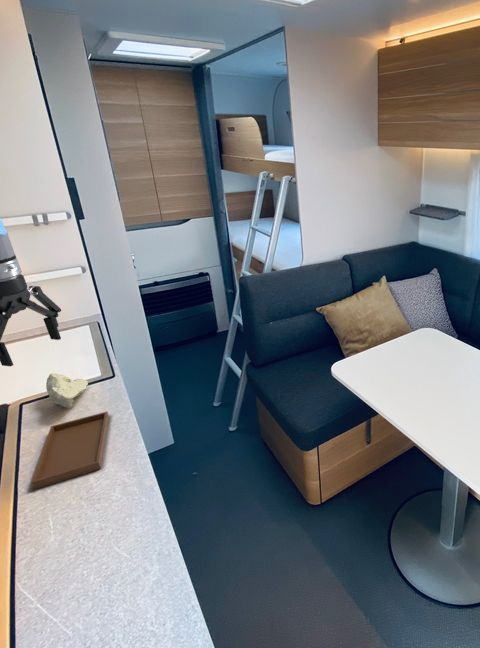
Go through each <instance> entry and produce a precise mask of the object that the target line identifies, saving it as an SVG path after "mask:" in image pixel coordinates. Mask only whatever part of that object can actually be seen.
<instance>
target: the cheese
mask: <svg viewBox="0 0 480 648" xmlns="http://www.w3.org/2000/svg"><path fill="white" fill-rule="evenodd" d="M45 384H46V386H45V387H46V391H47V393H48V394H47V395H48V396H49V401H50V402H51V403H52V404H55V405H56V404H57V405H60V406H62V407H63V408H67V409H71V408H72V406H73V403H74V402H75V401H74V399H75V398H76V397H78V396H80V395H82V394H83V393H84V392H85V391H86V390H87V387H88V385H89V382H88V380H86V379H84V378H79V377H78V378H75V379H71V378H69V376H67V375H64V374H61V373H60V374H59V373H57V372H51V373H49V375H48V377H47V378H46V383H45Z"/></svg>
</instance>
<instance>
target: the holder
mask: <svg viewBox="0 0 480 648" xmlns="http://www.w3.org/2000/svg"><path fill="white" fill-rule="evenodd" d="M109 421H110V415H109V412H108V411H104V412H100V413H96V414H92V415H88V416H84V417H81V418H76V419H73V420H70V421H66V422H62V423H58V424H54V425H51V426H50V429H49V431H48V434H47V436H46V440H45V441H44V445H43V448H42V451H41V454H40V457H39V458H38V459H39V460H38V462H37V465H36V468H35V471H34V474H33V477H32V479H31V482H30V483H31V485H32V488H33V489H34V490H37V489H40V488H43V487H46V486H49V485H52V484H56V483H59V482H62V481H63V482H64V481H67V480H69V479H73V478H75V477H78V476H79V477H80V476H82V475H85V474H88V473H91V472H96V471H98V470H101V469H102V466H103V465H102V464H103V459H104V452H105V446H106V440H107V435H108V434H107V433H108V427H109V423H110V422H109Z"/></svg>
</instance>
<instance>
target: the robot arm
mask: <svg viewBox="0 0 480 648" xmlns="http://www.w3.org/2000/svg"><path fill="white" fill-rule="evenodd" d="M22 272H23V271H22V269H21V265H20V263H19V261H18V258H17V256H16V254H15V251H14V247H13V244H12V242H11V239H10V236H9V232H8V231H7V230H6V227H5V225H4V223H3V220H2V218H0V364H1V366H3V367H12V366H14V362H13V360H12V357H11V355H10V353H9V351H8V348H7V345H6V344H5V342H2V339H3V335H4V333H5V331H6V327H7V325H8V323H9V320H10V319H11V318H12V316H13V315H15V314H18V313H19V312H22V311H25V310H27V309H29V310H31V311H34V312H36V313H38V314H39V315H42V316H44V318H43V319H42V320H43V322H44V325H45V327H46V331H47V333H48V335H49V339H50V340H54V341H60V340H61V339H62V337H61V334H60V332H59V329H58V328H59V322H58V320H57V318H58V317H59V313H61V312H62V309H61V308H60V307H59V305H57V303H55V302H54V301H53V300H52V299H51V298H49V297H48V296H47V294H45V293H44V291H43V289H42V288H41V286H39V285H29V286H28V284H27V281H26V279H25V275H23V274H22ZM31 296H33V298H34V299H36V300H37V301H38V302H40V304H42V305H43V306H42V305H39V304H37V303H36V302H35V301H33V300H31V299H30V298H31Z"/></svg>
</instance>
